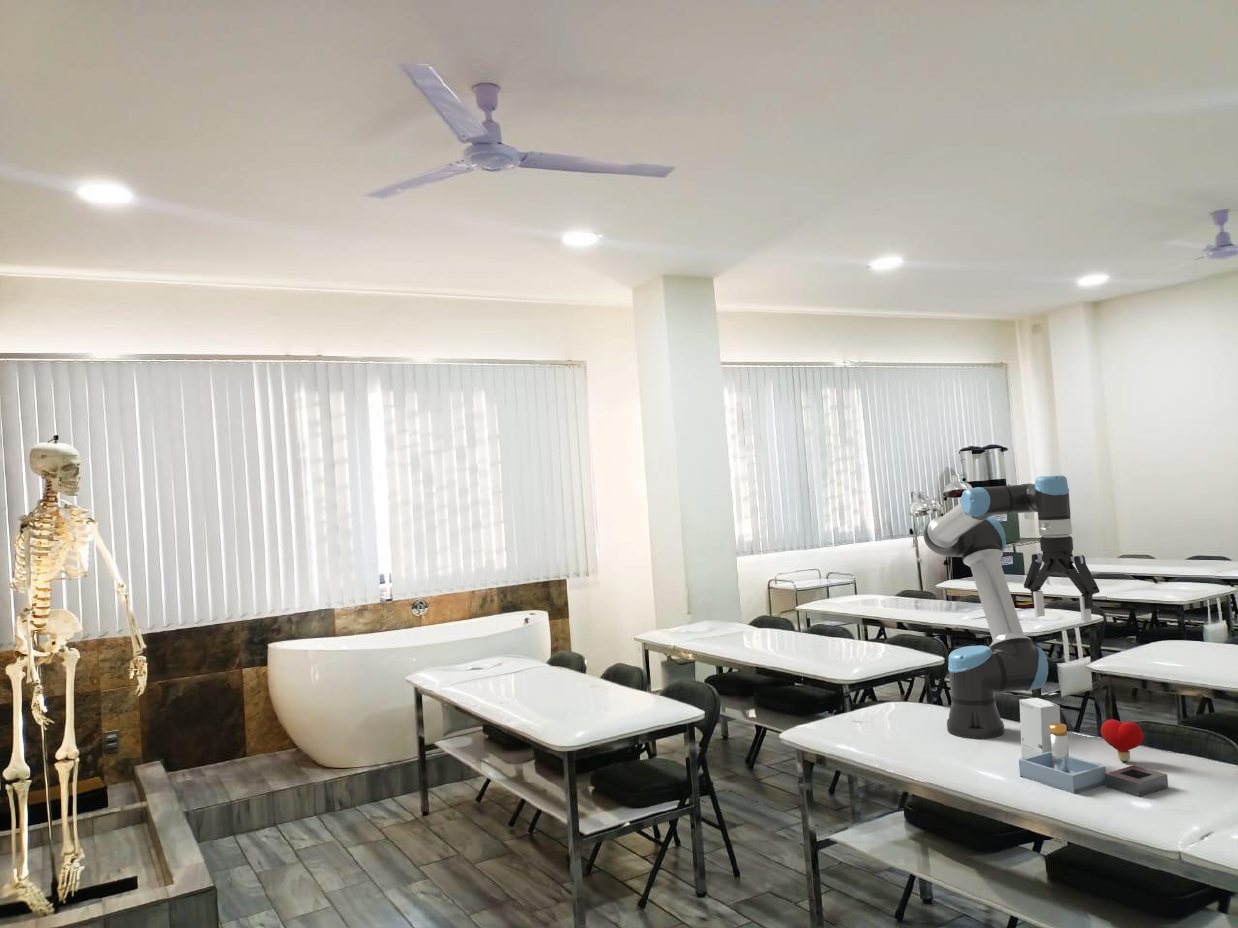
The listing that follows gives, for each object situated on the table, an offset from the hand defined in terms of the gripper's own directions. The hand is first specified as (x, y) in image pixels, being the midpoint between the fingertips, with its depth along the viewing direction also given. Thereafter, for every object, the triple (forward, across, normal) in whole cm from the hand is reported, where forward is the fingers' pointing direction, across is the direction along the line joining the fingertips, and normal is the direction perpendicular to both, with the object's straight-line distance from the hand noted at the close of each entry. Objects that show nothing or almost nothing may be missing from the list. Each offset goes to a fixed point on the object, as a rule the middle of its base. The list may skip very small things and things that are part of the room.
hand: (1062, 619), depth 224 cm
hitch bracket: (+35, +22, -8) cm, 42 cm away
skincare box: (+35, -2, -9) cm, 36 cm away
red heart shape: (+35, +10, +5) cm, 37 cm away
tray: (+35, +10, -17) cm, 40 cm away
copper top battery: (+34, +10, -17) cm, 39 cm away
